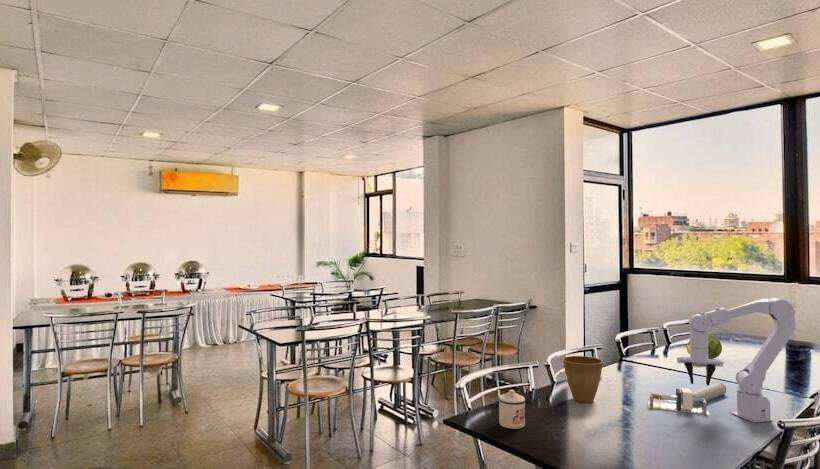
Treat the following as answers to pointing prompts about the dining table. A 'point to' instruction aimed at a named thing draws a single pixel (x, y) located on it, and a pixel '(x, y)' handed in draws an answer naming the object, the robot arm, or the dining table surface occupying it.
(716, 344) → the lettuce
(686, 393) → the sleeve
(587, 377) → the plant pot
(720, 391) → the tube
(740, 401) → the robot arm
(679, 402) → the dark gray slab
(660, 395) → the rod rig
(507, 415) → the teacup with lid
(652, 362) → the dining table surface
